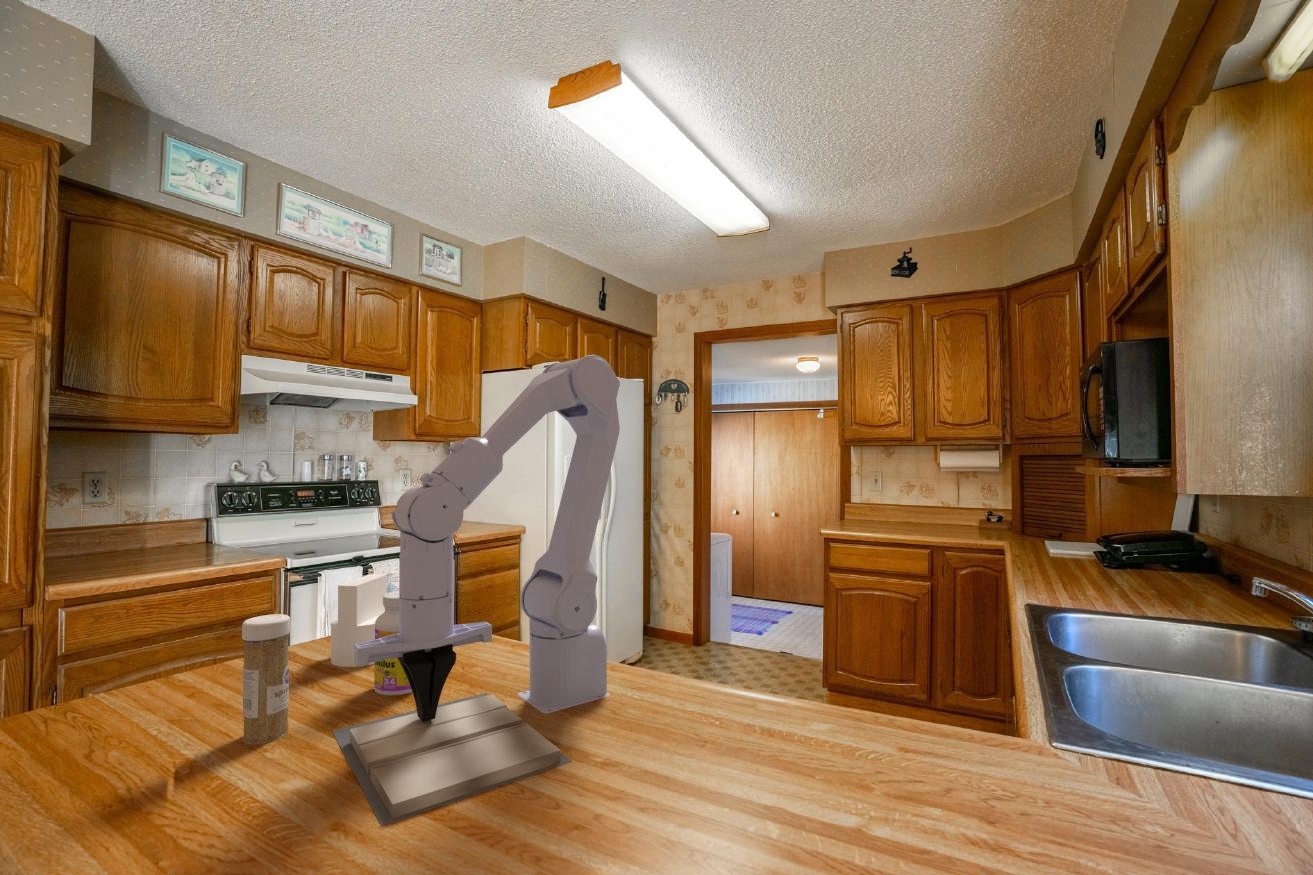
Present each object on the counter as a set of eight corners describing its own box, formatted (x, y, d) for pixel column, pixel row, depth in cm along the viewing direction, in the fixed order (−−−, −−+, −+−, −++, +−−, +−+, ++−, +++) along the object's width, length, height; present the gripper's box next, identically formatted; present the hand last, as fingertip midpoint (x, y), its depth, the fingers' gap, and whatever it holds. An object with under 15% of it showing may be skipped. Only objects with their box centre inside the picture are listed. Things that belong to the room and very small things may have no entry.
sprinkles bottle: (290, 742, 69) (291, 619, 69) (241, 753, 66) (242, 625, 67) (288, 727, 73) (289, 610, 73) (241, 737, 70) (242, 616, 71)
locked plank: (525, 733, 69) (525, 721, 69) (560, 761, 63) (560, 749, 63) (370, 779, 60) (370, 766, 60) (392, 818, 53) (392, 803, 53)
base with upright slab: (352, 647, 103) (352, 573, 103) (405, 648, 102) (405, 574, 102) (317, 666, 94) (318, 585, 94) (374, 667, 93) (375, 586, 93)
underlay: (486, 697, 81) (486, 692, 81) (571, 766, 63) (571, 760, 63) (331, 736, 70) (331, 730, 70) (381, 833, 52) (381, 825, 52)
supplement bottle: (365, 691, 84) (365, 594, 84) (412, 677, 89) (412, 586, 89) (389, 704, 79) (389, 602, 80) (437, 689, 84) (437, 592, 85)
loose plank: (492, 703, 77) (492, 693, 77) (521, 729, 70) (521, 718, 70) (349, 740, 68) (349, 728, 68) (367, 774, 61) (368, 761, 61)
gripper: (476, 580, 78) (476, 691, 77) (348, 597, 69) (347, 721, 69) (499, 590, 72) (499, 709, 72) (362, 609, 63) (362, 745, 63)
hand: (426, 717), depth 70 cm, fingers closed
